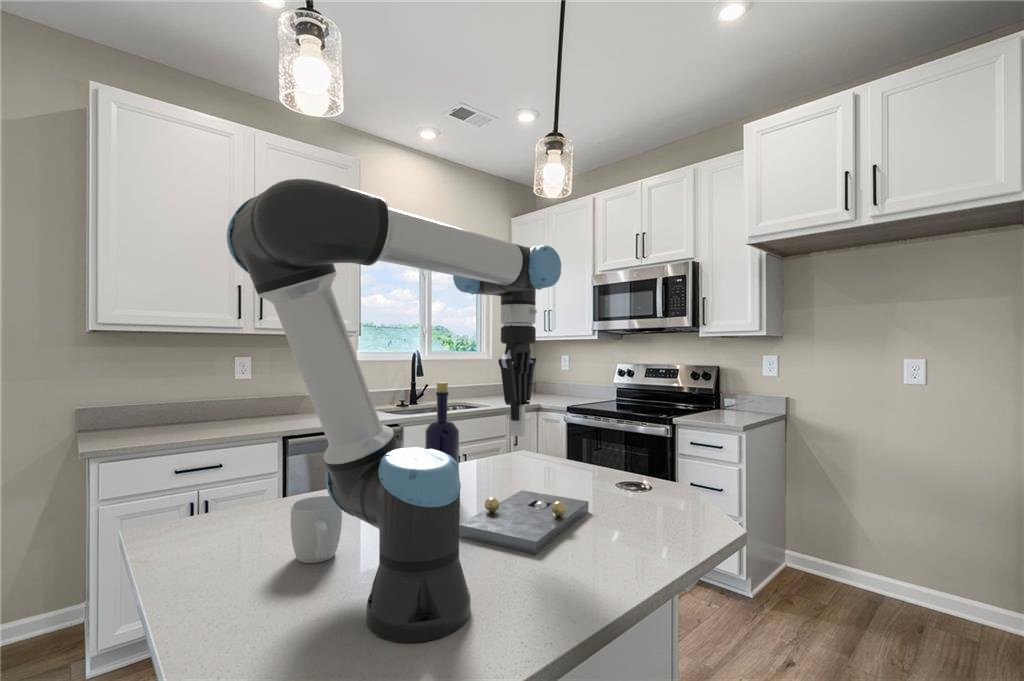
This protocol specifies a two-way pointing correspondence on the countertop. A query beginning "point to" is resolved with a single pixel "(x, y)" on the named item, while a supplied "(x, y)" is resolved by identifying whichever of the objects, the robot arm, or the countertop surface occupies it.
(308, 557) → the mug
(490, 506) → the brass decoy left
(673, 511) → the countertop surface
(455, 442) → the bottle
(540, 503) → the steel ball
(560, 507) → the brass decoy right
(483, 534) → the plate
